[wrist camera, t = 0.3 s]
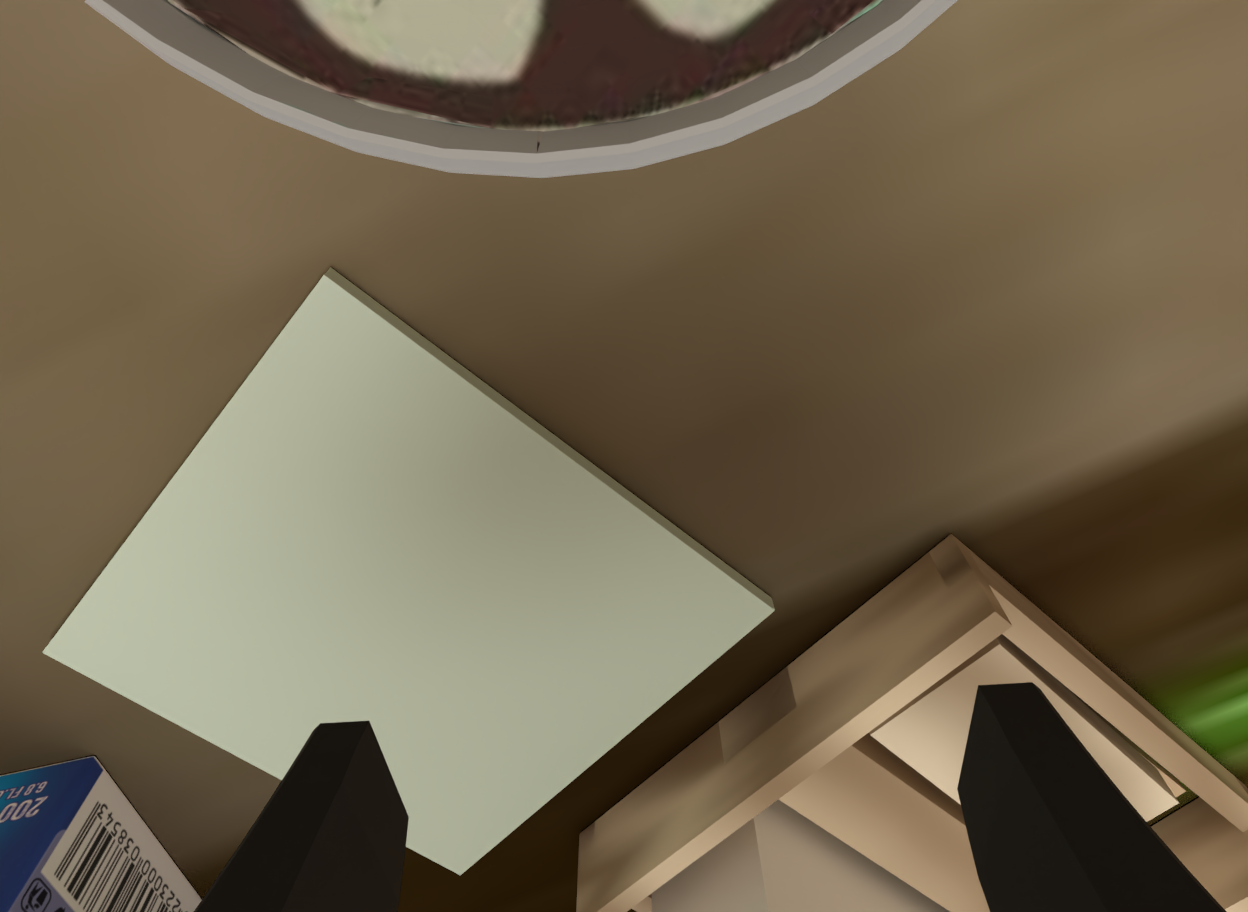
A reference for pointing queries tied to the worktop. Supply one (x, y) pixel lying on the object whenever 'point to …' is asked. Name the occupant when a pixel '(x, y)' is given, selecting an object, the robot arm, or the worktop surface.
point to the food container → (524, 71)
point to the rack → (873, 775)
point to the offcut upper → (943, 715)
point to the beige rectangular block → (787, 874)
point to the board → (404, 582)
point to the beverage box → (81, 846)
